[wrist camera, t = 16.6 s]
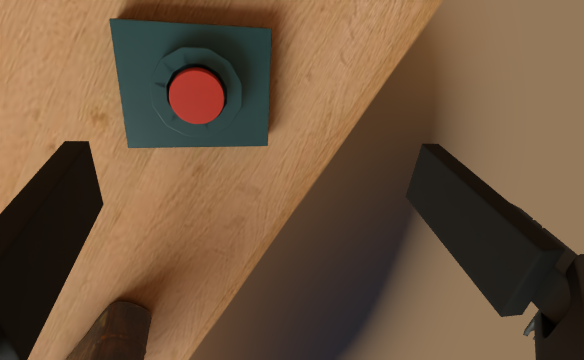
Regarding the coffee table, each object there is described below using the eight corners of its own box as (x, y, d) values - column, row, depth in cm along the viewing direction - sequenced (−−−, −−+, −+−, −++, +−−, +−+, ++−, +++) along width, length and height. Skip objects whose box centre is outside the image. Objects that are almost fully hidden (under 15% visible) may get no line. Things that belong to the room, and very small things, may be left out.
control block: (267, 27, 30) (275, 29, 26) (264, 138, 34) (270, 153, 30) (116, 18, 27) (102, 18, 24) (132, 139, 31) (123, 155, 28)
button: (222, 68, 27) (223, 71, 25) (223, 118, 29) (224, 124, 27) (168, 66, 26) (166, 69, 24) (173, 118, 28) (171, 124, 26)
